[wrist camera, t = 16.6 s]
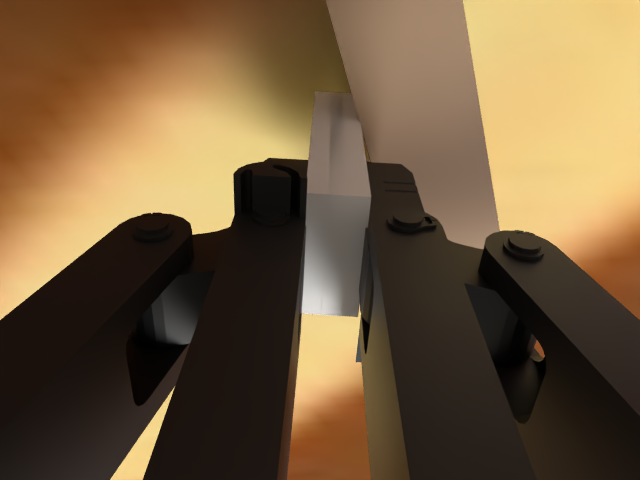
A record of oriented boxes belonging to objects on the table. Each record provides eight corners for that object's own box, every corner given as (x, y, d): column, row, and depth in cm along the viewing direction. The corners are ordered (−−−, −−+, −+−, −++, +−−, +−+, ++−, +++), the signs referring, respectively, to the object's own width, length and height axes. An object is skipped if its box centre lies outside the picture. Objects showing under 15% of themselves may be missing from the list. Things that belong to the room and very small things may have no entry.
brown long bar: (250, -284, 12) (216, -343, 9) (392, -346, 12) (408, -432, 9) (410, 293, 21) (421, 365, 17) (498, 274, 20) (525, 346, 17)
